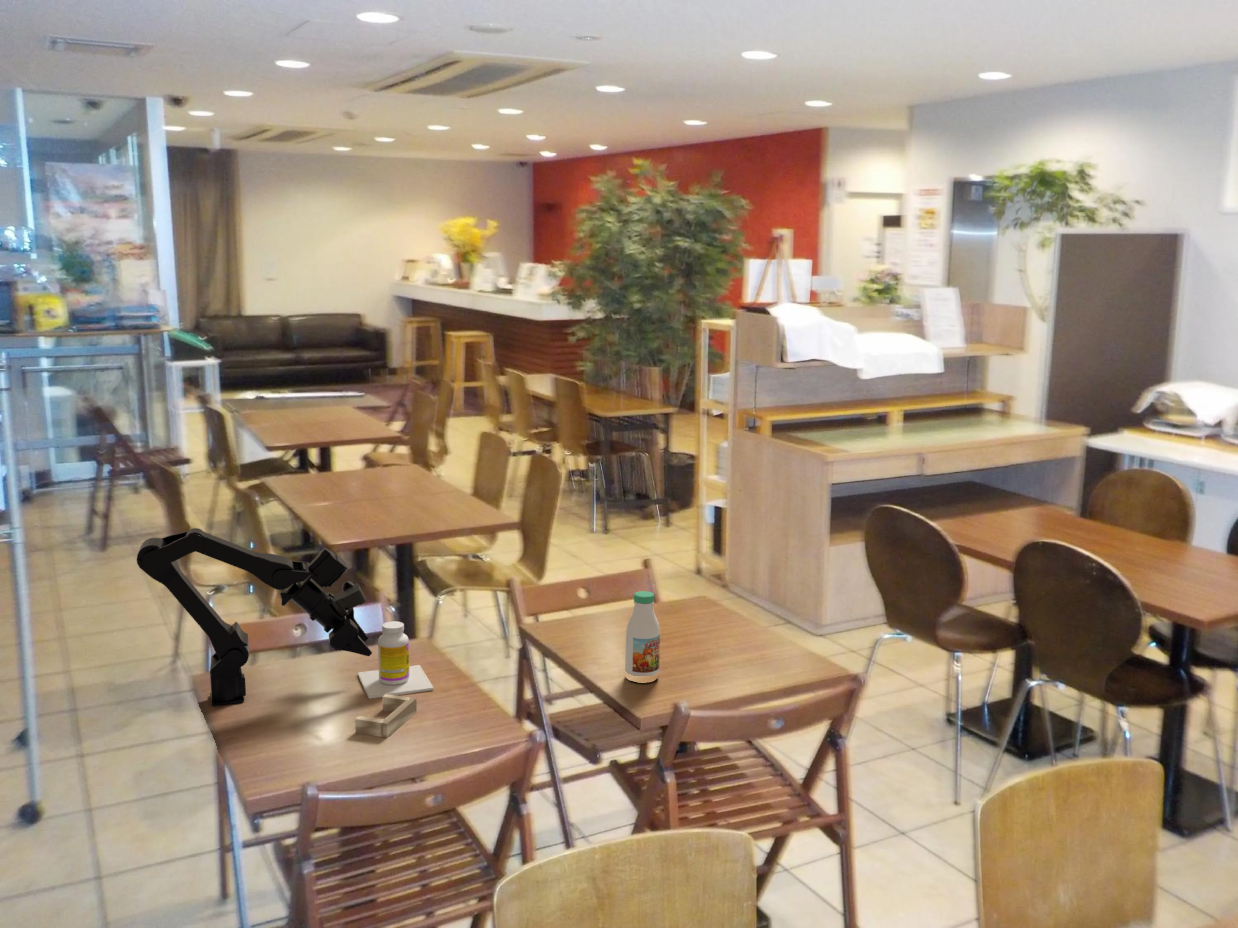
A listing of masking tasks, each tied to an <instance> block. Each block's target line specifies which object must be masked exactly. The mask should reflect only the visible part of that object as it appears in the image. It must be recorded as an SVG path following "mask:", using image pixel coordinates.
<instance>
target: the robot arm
mask: <svg viewBox="0 0 1238 928" xmlns="http://www.w3.org/2000/svg"><path fill="white" fill-rule="evenodd" d="M192 553H199V554H201V555H204V556H206V557H209V558H212V559H214V560H217V561H220V562H223V563H225V564H228V565H230V566H233V567H234V568H235V567H236V568H238V569H240V570H243V571H246V572H248V573H249V574H252V575H253V576H254V577H256V578H257V579H258V580H260V581H261V582H263V583H264V584H265V585H267V586H269V587H270V588H273V589H275V591H276V590H277V591H279V594H280V598H281V599H280V600H281V601H280V602H281V606H283V607H285V606H286V605H287V604H288V603H289V602H290V600H291V601H292V602H293V603H294V604H295V605H297V606H298V608H300V609H302V610H303V611H304V612H305V613H306V614H308V615H309V619H310V620H311V621H312V622H315V621H316V622H317V623H318V624H319V625H320V626H322V627H323V631H325V633H327V634H328V644H329V646H330V647H331V648H332V649H334V651H345V652H349V653H352V654H353V653H355V654H358V655H361V656H365V657H370V656H371V655H372V654H373V651H372V650H371V649H370V648H369V647H368V645H367V643H365V642H367V641H368V639H369V636H368V635H367V634H366V632H365V631H364V630H363V628H362V626H360V624H359V622H357V619H356V618H355V610H354V608H355V607H357V606H361V605H363V604H364V603H366V602H367V599H366V596H365V594H364V592H363V590H362V588H361V586H360V584H358V583H353V582H352V581H350V580H347V581H345V582H343V583H342V590H339V592H338V593H336V594H335V595H334V594H333V593H332V592H328V591H327V592H326V591H325V590H323V589H322V588H327V587H329V588H331V587H332V586H333V585H334V584H335V583H336V582H337V581H338V580H339V579H340V578H341V577H342V576H343V575H344V574H345V573H347V571H348V570H349V569H350V566H349V564H347V562H346V561H345V560H344V559H343V558H342V556H340V555H339V554H338V553H335V552H333V551H332V550H331V549H328V548H327V547H323V548H322V549H321V550H320V551H319V552H318V554H317V555H316V557H314V558H313V559H312V561H311V562H308V561H298V560H292V559H290V557H287V556H284V555H278V554H275V553H274V554H273V553H264V552H258V551H254V550H251V549H249V548H246V547H243V546H241V545H239V544H236V543H233V542H230V541H228V540H225V539H223V538H221V537H218V536H216V535H213V534H211V533H208V532H205V531H204V530H202V529H201V528H197V527H195V528H194V527H193V528H190V529H189V530H186V531H183V532H179V533H174V534H171V535H167V536H165V537H164V536H163V537H150V538H147V539H145V540H144V541H143V542H142V543H141V545H140V547H139V550H138V553H137V555H136V564H137V566H138V568H139V569H140V570H142V572H144V573H145V574H146V575H148V576H149V577H150V578H151V579H153V580H155V582H158V583H159V584H162V585H164V587H165V588H166V589H167V590H169V592H170V593H171V595H172V596H173V597H174V598H175V599H176V600H177V602H178V603H179V604H180V605H181V606H182V607H183V608H184V610H185V611H186V612H187V613H188V614H189V616H190V617H191V618H192V619H193V620H194V622H195V623H196V624H197V625H198V626H199V627H200V628H201V629H202V631H203V633H205V634H206V635H207V637H208V639H209V640H210V643H211V645H212V648H213V650H214V653H213V654H212V655H211V660H210V668H209V680H210V681H209V682H210V683H209V684H210V693H209V695H210V703H211V706H213V707H214V706H223V705H230V704H236V703H244V702H245V696H247V693H246V691H247V688H246V675H245V673H243V670H242V667H244V666H245V665H246V664H247V662H248V660H249V657H250V641H249V634H248V633H247V632H245V631H244V630H243V629H242V628H241V626H240V624H239V622H238V621H234V623H233V624H232V625H231V624H230V623H228V622H226V621H224V620H223V619H222V617H221V616H220V615H219V614H218V613H217V612H216V610H215V609H214V608H213V607H212V605H211V604H210V603H209V602H208V601H207V599H206V598H205V597H204V596H203V595H202V593H200V591H199V590H198V589H197V588H196V587H195V585H194V584H193V583H192V582H191V581H190V580H189V578H188V577H187V576H186V575H185V574H184V572H183V571H182V569H181V567H180V566H179V563H178V560H179V559H181V558H184V557H185V556H187V555H190V554H192ZM312 580H313V581H312Z"/></svg>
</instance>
